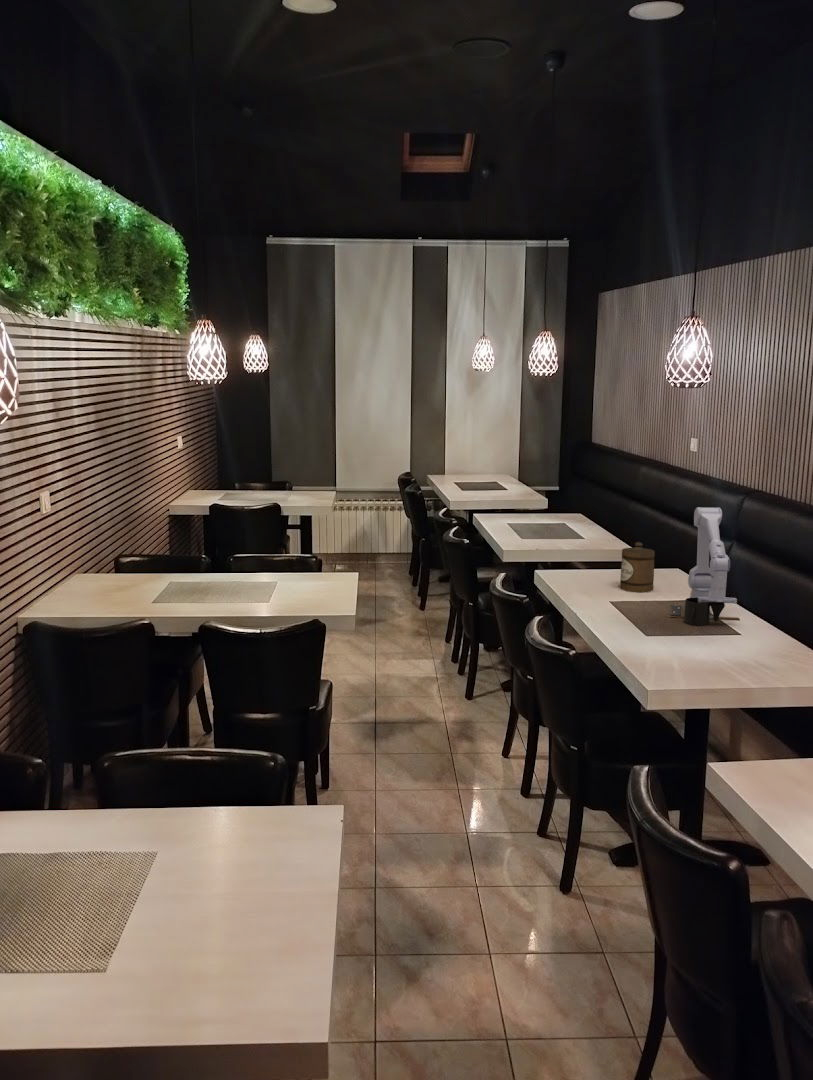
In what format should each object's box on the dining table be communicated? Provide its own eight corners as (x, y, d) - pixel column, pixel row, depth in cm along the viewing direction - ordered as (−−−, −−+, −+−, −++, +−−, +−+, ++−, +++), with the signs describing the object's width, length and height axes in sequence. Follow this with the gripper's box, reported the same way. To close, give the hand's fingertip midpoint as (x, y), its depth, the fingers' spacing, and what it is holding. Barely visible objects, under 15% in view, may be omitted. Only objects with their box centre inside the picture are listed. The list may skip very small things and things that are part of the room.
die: (669, 614, 356) (670, 604, 356) (679, 615, 355) (680, 604, 355) (671, 615, 352) (671, 604, 352) (681, 615, 351) (681, 605, 351)
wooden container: (617, 584, 408) (619, 539, 404) (648, 585, 407) (651, 539, 403) (623, 592, 393) (626, 545, 389) (656, 593, 393) (659, 545, 389)
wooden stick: (666, 616, 354) (666, 614, 353) (738, 618, 350) (738, 617, 350) (667, 617, 351) (667, 616, 351) (739, 620, 348) (739, 618, 348)
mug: (679, 624, 341) (680, 602, 340) (687, 617, 351) (689, 596, 350) (703, 628, 336) (705, 606, 335) (711, 621, 346) (713, 599, 345)
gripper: (701, 588, 337) (699, 622, 339) (740, 590, 335) (737, 623, 338) (697, 584, 344) (695, 617, 346) (735, 585, 342) (732, 619, 345)
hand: (715, 620), depth 343 cm, fingers closed
